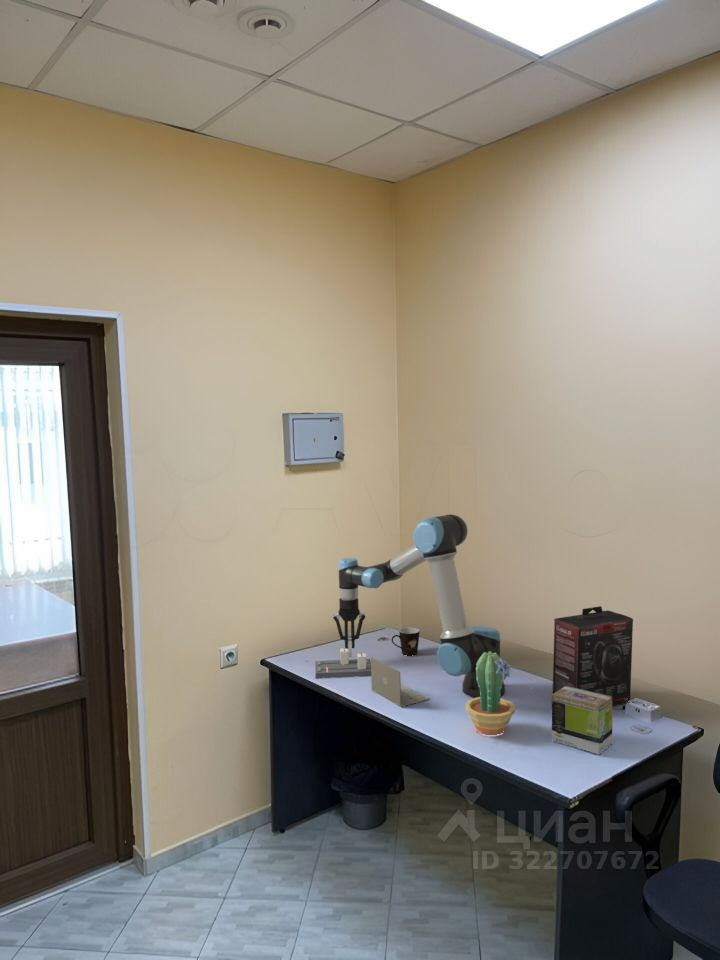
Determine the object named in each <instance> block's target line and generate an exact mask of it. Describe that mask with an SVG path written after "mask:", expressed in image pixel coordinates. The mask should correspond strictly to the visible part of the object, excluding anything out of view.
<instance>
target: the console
mask: <svg viewBox="0 0 720 960" xmlns="http://www.w3.org/2000/svg"><path fill="white" fill-rule="evenodd" d="M348 660H349V664H341V659H334V660H333V659H332V660H330V659H329V660H327V659H326V660H315V663H314V665H315V667H314V668H315V669H314V670H315V679H332V678H331V677H337V678H355V677H354V676H360V677H371V658H366V669H363V670H358V658H357V659H356V658H355V659H354V658H352V659H348ZM323 677H324V678H323Z"/></svg>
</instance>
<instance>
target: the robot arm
mask: <svg viewBox="0 0 720 960" xmlns="http://www.w3.org/2000/svg"><path fill="white" fill-rule="evenodd" d="M468 531H469V530H468V525H467V523H466V522H465V520H464V519H463V518H462V517H460V516H459V515H457V514H450V513H449V514H445V515H439V516H431V517H429V518H425V519H422V520H420V521H419V522H418V523H417V525H416V526H415V528H414V530H413V535H412V537H413V545H411V546H410V547H408V548H406V549H405V550H403V551H402V552H400V553H397V554H396V555H395V556H393V557H392V558H390V559H389V560H387V561H385V562H381V563H379V564H378V563H377V564H374V565H369V566H361V565H359V563H358V562H359V561H358V559H356V558H352V557H348V558H347V557H345V558H342V559H340V560H339V562H338V569H337V571H338V597H339V601H338V602H339V605H338V606H339V610H338V613H336V614H334V615H332V618H333V620H334V621H335V623H336V627H337V630H338V634H339V638H340V640H342V641H344V648H346V649H348V658H353V649H355V647H356V646H355V642H356V640H359V639H360V636H361V631H362V627H363V622H364V621H365V619H366V614H365V613H362V612H361V611H360V608H359V607H360V606H359V598H358V597H359V587H364V588H368V589H378V588H380V586H382V585H383V584H384V583H387V582H392V581H394V582H395V581H396V580H397V581H398V580H399V579H401V578H402V577H403V576H404V574H405V573H407V572H409V571H411V570H412V569H414V568H416V567H418V566H419V565H421V564H423V563H425V562H426V561H427V562H428V563H429V568H430V573H431V577H432V583H433V587H434V592H435V597H436V601H437V602H436V603H437V608H438V613H439V617H440V622H441V628H442V633H441V634H440V635H439V640H440V644H441V645H439V646H438V649H437V651H436V660H437V662H438V665H439V666H440V668H441V670H443V671H444V672H445V673H446V674H448V675H450V676H452V677H460V676H462V675H464V678H463V680H462V688H461V689H462V690H461V691H462V692H463V694H465V695H466V696H469V697H471V698H473V699H474V698H477V697H480V688H479V686H478V683H477V677H476V667H477V666H476V664H477V662H478V660H479V658H480V657H481V656H482V654H483V653H484V652H486V653H488V652H489V651H491V652H492V653H497V655H498V656H499V657H500V658H501V636H500V635H501V634H500V632H499V630H498V629H496V628H493V627H490V626H484V625H483V626H482V625H473V626H472V625H471V626H468V623H467V616H466V612H465V607H464V602H463V601H464V600H463V596H462V592H461V587H460V583H459V578H458V573H457V569H456V562H455V557H456V555H457V554H458V553H457V552H458V551H457V550H458V549H457V547H459V546H460V545H462V544H463V543H464V541H465V540H466V539H467V537H468V534H469V533H468ZM340 618H341V619H342V621H344V622H343V624H344V632H343V631H342V627H341V623H340ZM357 618H358V619H359V620H358V624H357V627H356V632H355V621H356V620H357ZM349 622H350V638H349ZM343 633H344V634H343ZM504 681H505V680H504ZM504 681H503V685H502V688H501V693H500V698H501V697H502V696H504V695H505V693H506V684H505V682H504Z"/></svg>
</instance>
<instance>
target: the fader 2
mask: <svg viewBox="0 0 720 960" xmlns="http://www.w3.org/2000/svg"><path fill="white" fill-rule="evenodd" d="M357 659H358V670H363V669H366V659H367V655H366V653H365V652H364V653H363V652H361V653H357Z"/></svg>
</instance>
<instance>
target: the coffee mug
mask: <svg viewBox="0 0 720 960" xmlns="http://www.w3.org/2000/svg"><path fill="white" fill-rule="evenodd" d="M398 632H399V633H398V634H394V635H392V637H391V643H392V644H393V645H394V646H395V647H397V648H399V649H400V650H401V655H402V654H403V655H402V656H404V655H407V656H406V657H413V656H412V655H416V654H417V655H418V651H419V641H420V633H421V632H420V629H419V628H416V627H403V628H400V629H399V630H398ZM396 637H397V638H399V639H400V640H399V641H400V646H399V645H398V644H396V643H395V642H394V638H396ZM417 655H416V656H417Z"/></svg>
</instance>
